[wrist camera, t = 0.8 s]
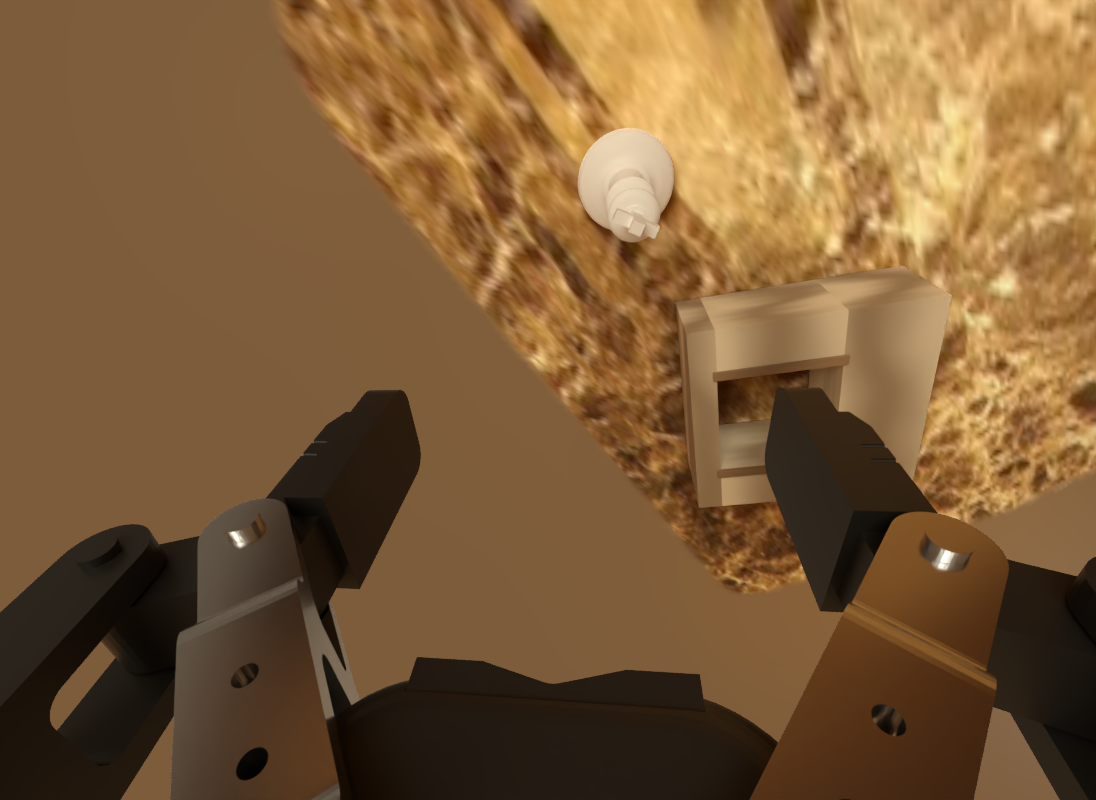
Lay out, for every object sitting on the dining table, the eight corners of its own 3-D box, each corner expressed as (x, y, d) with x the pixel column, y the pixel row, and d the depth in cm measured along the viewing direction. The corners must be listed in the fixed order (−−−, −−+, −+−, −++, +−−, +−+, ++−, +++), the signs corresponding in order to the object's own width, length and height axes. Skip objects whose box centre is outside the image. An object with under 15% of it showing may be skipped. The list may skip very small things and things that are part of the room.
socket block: (902, 265, 27) (953, 296, 23) (875, 443, 33) (912, 491, 29) (675, 302, 29) (686, 335, 25) (688, 462, 35) (699, 509, 32)
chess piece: (646, 244, 28) (667, 314, 19) (563, 209, 27) (547, 266, 19) (691, 151, 25) (737, 186, 17) (601, 111, 25) (601, 126, 16)
